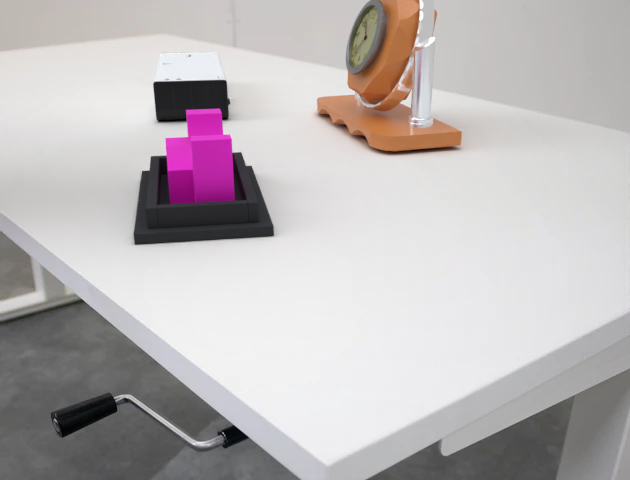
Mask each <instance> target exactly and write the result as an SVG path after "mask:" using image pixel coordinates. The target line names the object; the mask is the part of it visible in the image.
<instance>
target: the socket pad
mask: <svg viewBox="0 0 630 480" xmlns="http://www.w3.org/2000/svg"><path fill="white" fill-rule="evenodd" d="M232 155H233V174H234V194H235V201H218V202H200V203H181V204H170V194H169V183H168V172H167V171H168V168H167V155H151V156H150V160H149V161H150V162H149V170H142V171H141V173H140V174H141V176H140V182H139V189H138V190H139V191H138V198H137V206H136V214H135V220H134V227H133V229H134V230H133V241H134V244H135V245H142V244H143V245H144V244H158V243H159V244H162V243H176V242H177V243H178V242H191V241H193V242H194V241H207V240H208V241H209V240H225V239H227V240H228V239H242V238H258V237H272V236H275V233H274V230H275V229H274V224H273V222H272V219H271V216H270V212H269V210H268V206H267V204H266V201H265V199H264V195H263V193H262V190H261V188H260V185H259V182H258V179H257V177H256V173H255V171H254V168H253V165H247V164H246V161H245V159H244V156H243V153H242V152H241V151H238V152H237V151H236V152H232Z"/></svg>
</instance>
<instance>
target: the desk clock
mask: <svg viewBox="0 0 630 480" xmlns="http://www.w3.org/2000/svg"><path fill="white" fill-rule="evenodd" d="M437 11H438V10H436V8H435V5H434V0H368V1H367V2H366V3H365V4H364V6H363V7H361V9H360V11H359V13H358V14H357V16H356V18H355V19H354V22H353V24H352V28H351V30H350V33H349V37H348V40H347V44H346V49H345V52H346V53H345V66H346V70H347V81H346V82H347V83H346V84H347V86H348V89H350V90H352V91H353V92H354V94H345V95H344V94H342V95H329V96H326V95H325V96H320V97H319V96H318V98H316V112H317V114H319V115H320V114H321V115H329V117H330V120H331V122H332V124H339V125H344V126H345V125H346V127H347V129H348V132H349V134H350V135H355V136H363V137H365V139H366V140H367V142H368V146H369V147H371V148H374V149H377V150H381V151H385V152H392V153H395V152H401V151H412V150H423V149H425V150H426V149H436V148H440V149H441V148H448V147H458V146H462V137H463V130H460V129H458V128H456V127H454V126H451V125H450V124H447V123H445V122H442V121H440V120H438V119H436V118H434V116H432V115H431V113H432V100H433V99H432V96H433V84H434V83H433V82H434V65H435V50H436V49H435V48H436V36H434V31H435V26H436V22H437V16H438V12H437ZM410 94H411V98H410V99H411V100H410V102H411V103H410V107H409V106H407V105H405V104H403V103H401V102H403V101H405V100H407V99H408V97H409V95H410Z"/></svg>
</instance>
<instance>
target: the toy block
mask: <svg viewBox="0 0 630 480" xmlns="http://www.w3.org/2000/svg"><path fill="white" fill-rule="evenodd" d="M186 117H187V119H186V127H187V136H179V137H165V152H166V155H167V168H168V171H167V172H168V183H169V194H170V204H181V203H200V202H218V201H235V194H234V174H233V155H232V153H233V140H232V136H231V134H230V133H229V134H227V133H226V134H224V127H223V125H224V123H223V118H222V113H221V110H220V109H196V110H186ZM166 155H165V156H166Z"/></svg>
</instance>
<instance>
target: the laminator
mask: <svg viewBox="0 0 630 480" xmlns="http://www.w3.org/2000/svg"><path fill="white" fill-rule="evenodd" d="M152 86H153V87H152V88H153V97H154V98H153V99H154V108H155V109H154V110H155V117H156V121H157V120H158V121H168V120H169V121H170V120H172V121H173V120H187V117H186V110H196V109H220V110H221V113H222V119H229V118H230V117H229V115H230V113H229V106H230V105H231V101H234V100H235V98H234V97H233V96H229V95H228V94H229V93H228V81H227V78H226V75H225V71H224V67H223V64H222V61H221V57H220V55H219V52H218V51H187V52H186V51H185V52H183V51H182V52H180V51H179V52H161V53H160V54H159V57H158V62H157V66H156V70H155V75H154V79H153V83H152Z"/></svg>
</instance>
